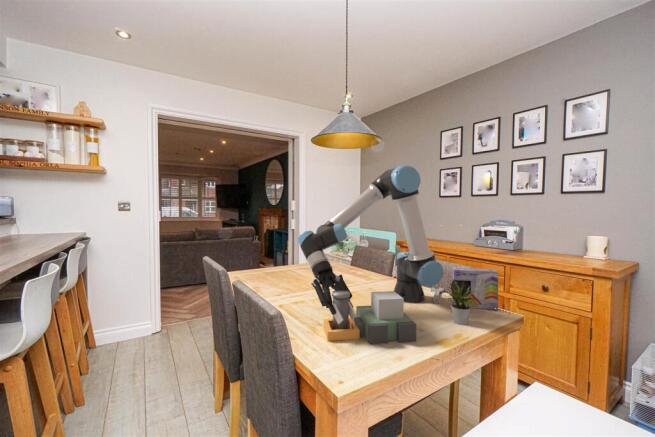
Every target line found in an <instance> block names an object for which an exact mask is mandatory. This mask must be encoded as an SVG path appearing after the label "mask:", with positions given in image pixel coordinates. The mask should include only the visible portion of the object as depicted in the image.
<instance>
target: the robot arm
mask: <svg viewBox="0 0 655 437" xmlns="http://www.w3.org/2000/svg"><path fill="white" fill-rule="evenodd" d="M421 182H422V181H421V176H420V173H419V171H418V170H417V169H416V168H414V167H413V166H411V165H398V166H396V167H393V168H389V169H387V170H386V171H384V172H383V173H381V174H380V175H379V176H378V177H377V178H375V179H374V181H372V182H371V183H370V184H369V185H368V188H367V189H366V190H365V191H364V192H362V193H360V194H359V195H358V196H357V197H356V198H355V199H354V200H352V201H351V202H350V203H348V204H347V205H346V206H345V207H344V208H342V209H341V210H340V211H338V213H336V214H335V215H334V216H332V218H330V219H329V220H327V221H326V222H325V223H324V224H321V225H319V226H317V228H316V230H315V233H314V232H313V231H312V230H306V231H303V232H302V233H300V234H299V235H298V238H297V242H298V244H299V246H300V249H301V251H302V253H303V255H304V257H305V259H306V262H307V264H308V265H309V268H310V269H311V272H312V274H313V276H314V278H315V279H313V281H312V282H311V284H310V285H311V286H312V287H313V288H314V291H315V292H316V295H317V298H318V299H319V302H320V304H321V306H322V307H325V308H326V309H328V310H329V311H330V314H331V315H332V316H333V315H334V317H335V319H336V321H337V323H338V324H340V323H341V322H342V321H343V318H342V316H341V314H340V312H339V310H338V308H337V306H336V304H335V303H333V296H332V292H331V289H332V290H334V291H336V290H345V291H348V292H350V297H349V318H351V320H354V318H355V317H356V316H357V315H356V310H355V309H354V305H353V303H352V300H351V299H352V297H353V293H352V292H351V291H350V289H349V287H348V286H347V284H346V282H345V280H344V277H343V274H339V275H336V273H334V271H333V267H332V265H331V263H330V261H329V260H328V257H327V255H326V254H325V250H326V249H329V248H331V247H333V246H336V245H338V244H341V243H342V242H344V241H346V240H347V238H348V235H347V231H346V228H347V227H348V226H349V225H350V224H352V223H353V222H354V221H355V220H357V219H358V218H359V217H361V216H362V215H363V214H364V213H365V212H366V211H367V210H369V209H370V208H371V207H372V206H374V205H375V204H376V203H378V202H379V201H384V200H385V199H386V198H387V197H389V196H391V201H393V202H394V203H396V205H397V210H398V213H399V217H400V220H401V224H402V229H403V232H404V235H405V236H404V237H405V239H406V243H407V248H408V251H402V252H398V253H397V255H396V283H395V286H394V288H393V291H395V292H396V293H397V294H398V295H400V296H401V297H402V298H403V299H404V303H422V302H423V301H425V292H424V289H423V286H425V287H434V286H436V285H437V284H438V283H440V282H441V279H442V278H443V275H444V268H443V265H442V264H441V263H440V262H439V261H437V260H436V257H435V256H436V255H435V252H434V251H433V250H430V247H429V244H428V239H427V235H426V231H425V227H424V223H423V219H422V215H421V211H420V208H419V204H418V200H417V199H418V198H417V197H418V196H419V194H420V192H419V188H420V185H421ZM330 287H331V289H330Z"/></svg>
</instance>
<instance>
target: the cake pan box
mask: <svg viewBox="0 0 655 437" xmlns="http://www.w3.org/2000/svg"><path fill="white" fill-rule="evenodd" d="M455 282H456V283H457V285H458V286H459V288H460V289H461V288H462V287H463V288H462V292H461V299H462V296H463V294H464V293H466V291H467V289H468V288H469V286H470V288H469V293H470V292H472V291H473V290H475V289H476V290H475V291H474V292H472V293H471V294H470V295H469V296H468V295H467V296H468V297H467V298H474V299H471V300H469V301H468V303H469V302H471V301H473V302H471V303H469V304H468V305H467V306H469V307H470V308H471V309H478V310H479V309H481V310H494V311H498V310H499V271H498V270H497V269H494V268H492V269H490V268H478V267H458V266H453V267H452V280H451V285H452V286H453V288H454V290H456V284H455ZM451 285H450V288H451V289H452V287H451ZM464 285H465V286H464ZM477 288H479V289H477ZM451 289H450V291H451V294H454V293H453V291H452V290H453V289H452V290H451ZM469 293H468V294H469ZM454 296H455V295H454ZM455 297H456V296H455ZM452 301H453V302H454V303H455V304H456V302H455V301H454V299H453V298H452ZM453 302H452V304H454V303H453ZM495 308H496V309H495Z"/></svg>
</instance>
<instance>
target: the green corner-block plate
mask: <svg viewBox="0 0 655 437" xmlns="http://www.w3.org/2000/svg"><path fill="white" fill-rule="evenodd" d="M370 294H371V296H370V300H371V301H370V305H359V306H358V305H356V308H355V313H356V315H357V316H356V317H355V318H354V319H353V320H351V318H350V317H349V329H340V330H333V318H327V319H326V318H324V319H323V330H324V334H325V337H326V339H327V342H334V341H335V342H336V341H350V340H360V337H365V338H366V340H367V342H368V343H369V345H376V344H377V345H380V344H388V341H396V340H397V341H398V343H410V342H411V343H412V342H417V323H416V322H415V321H414V320H413V319H412V318H410V316H408V315H407V314H406V313H405V311H404V303H405V302H404V299H403V298H402V297H401V296H400V295H398V294H397V293H396V292H395V291H394V290H391V291H390V290H389V291H371V292H370Z"/></svg>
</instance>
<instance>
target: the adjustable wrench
mask: <svg viewBox="0 0 655 437" xmlns="http://www.w3.org/2000/svg"><path fill="white" fill-rule="evenodd" d="M429 290H431V291H433V292H432V293H434V292H435V293H434V294H433V299H432V303H433V304H439V303H440V294H441V293H440V292H442V293H443V292H445V289H444V287H438V288H435V287H434V286H431V288H430V289H429ZM431 291H430V292H431ZM439 293H440V294H439Z"/></svg>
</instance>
